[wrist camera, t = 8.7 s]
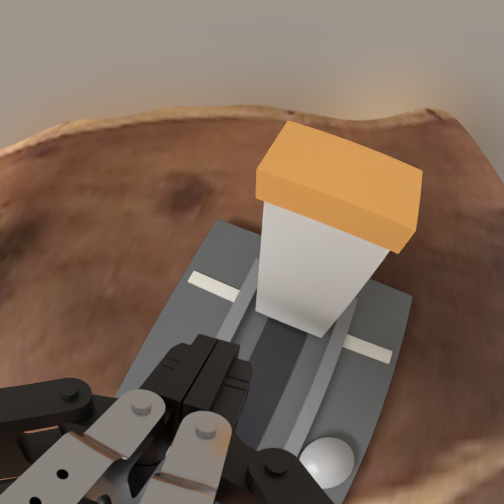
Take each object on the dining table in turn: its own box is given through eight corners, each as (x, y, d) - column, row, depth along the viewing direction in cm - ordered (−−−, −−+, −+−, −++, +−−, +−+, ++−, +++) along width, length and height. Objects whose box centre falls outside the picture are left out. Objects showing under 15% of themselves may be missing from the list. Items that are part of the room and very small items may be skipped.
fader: (323, 342, 17) (416, 230, 7) (250, 312, 18) (256, 169, 8) (336, 305, 18) (422, 170, 8) (267, 277, 19) (288, 120, 9)
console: (289, 578, 11) (296, 601, 8) (80, 482, 14) (53, 488, 11) (405, 302, 20) (426, 283, 17) (218, 228, 23) (215, 200, 20)
